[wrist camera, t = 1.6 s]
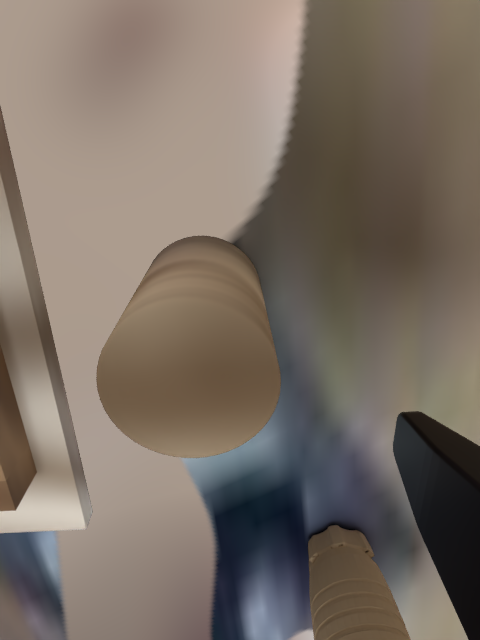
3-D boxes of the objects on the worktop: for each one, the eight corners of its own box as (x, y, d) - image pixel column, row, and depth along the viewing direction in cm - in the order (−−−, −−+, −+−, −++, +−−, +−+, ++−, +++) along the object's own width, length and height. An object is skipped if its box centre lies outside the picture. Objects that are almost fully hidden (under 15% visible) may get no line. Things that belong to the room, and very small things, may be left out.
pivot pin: (261, 342, 17) (279, 454, 11) (151, 346, 17) (111, 461, 11) (260, 233, 15) (282, 297, 9) (138, 237, 15) (81, 303, 9)
